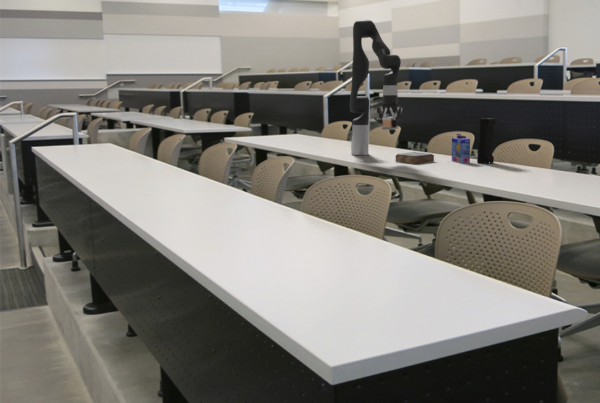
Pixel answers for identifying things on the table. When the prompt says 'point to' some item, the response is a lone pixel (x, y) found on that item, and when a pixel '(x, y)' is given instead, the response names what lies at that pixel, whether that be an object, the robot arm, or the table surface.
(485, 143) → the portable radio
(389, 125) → the housing
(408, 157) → the walnut stand
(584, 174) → the table surface
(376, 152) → the table surface
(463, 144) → the ink cartridge box
